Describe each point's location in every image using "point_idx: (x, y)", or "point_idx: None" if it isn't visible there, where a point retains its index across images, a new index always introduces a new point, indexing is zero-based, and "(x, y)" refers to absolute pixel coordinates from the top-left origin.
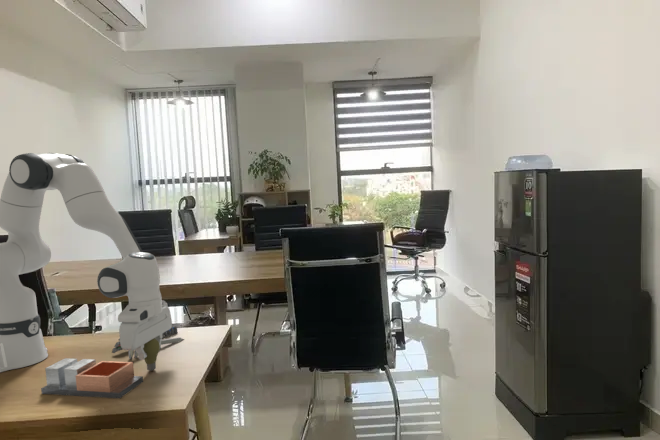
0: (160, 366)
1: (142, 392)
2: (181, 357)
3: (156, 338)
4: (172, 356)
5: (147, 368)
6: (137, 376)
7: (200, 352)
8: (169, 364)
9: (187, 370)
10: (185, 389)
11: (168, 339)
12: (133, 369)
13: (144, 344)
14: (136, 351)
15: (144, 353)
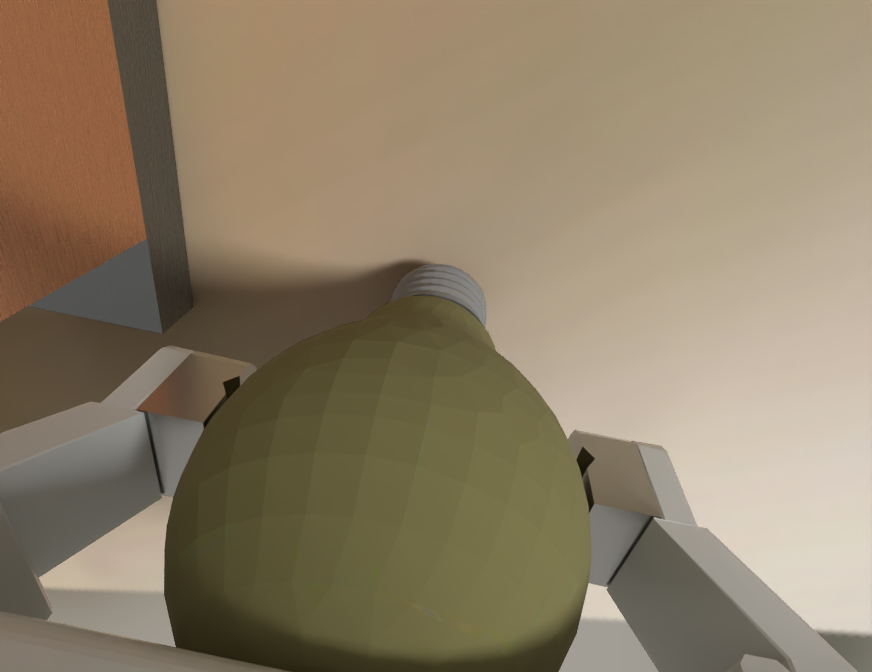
0: (558, 340)
1: (28, 370)
2: (766, 462)
3: (736, 652)
4: (855, 376)
5: (397, 287)
6: (144, 281)
7: (831, 569)
8: (594, 406)
9: None
10: (158, 571)
11: None
12: (86, 270)
13: (171, 604)
14: (10, 432)
15: (152, 487)
